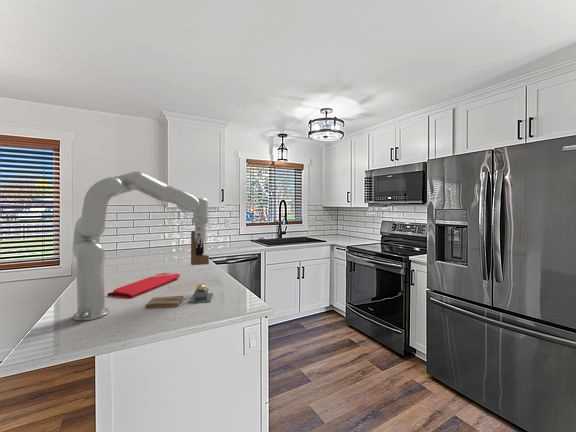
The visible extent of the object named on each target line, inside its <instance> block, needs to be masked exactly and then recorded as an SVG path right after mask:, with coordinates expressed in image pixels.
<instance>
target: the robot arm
mask: <svg viewBox="0 0 576 432" xmlns="http://www.w3.org/2000/svg"><path fill="white" fill-rule="evenodd" d="M132 191H138V192H140V193H142V194H144V195H146V196H149V197H150V198H152V199H155V200H158V201H160V202H165V203H171V204H174V205H176V207H177V209H178V210H179V211H181V212H192V224H193V225H194V231H195V242H196V239H197V242H196V255H202V254H203V255H205V254H204V253H205V252H204V251H205V245H204V244H205V242H206V241H207V224H208V213H209V211H208V203H209V202H208V199H207V198H206V197H195V196H194V195H192V194H190V193H188V192H186V191H183V190H181V189H179V188H176V187H173V186H171V185H169V184H166V183H164V182H162V181H161V180H157V179H156V178H154V177H152V176H151V175H148V174H147V173H144V172H141V171H132V172H127V173H124V174H121V175H116V176H108V177H106V178H102V179H100V180H98V181H96V182H95V183H93V184H92V185H91V187H89V189H88V190H87V191H86V193H85V196H84V198H83V203H82V210H81V217H79V218H78V219H77V220H76V222H75V225H74V234H73V241H72V254H73V256H74V257H75V258H76V301H77V303H76V304H77V310H76V311H77V312H75V313H74V314H73V315H72V319H73V320H74V321H80V322H81V321H82V322H83V321H92V320H96V319H99V318H103V317H105V316H107V315H108V314H109V312H110V310H109V308H107V307H106V306H105V275H104V274H105V257H106V255H105V248H104V247H103V245H102V244H100V236H102V235H103V234H104V232H105V230H106V217H107V209H108V205H109V202H110V200H111V199H112V198H113V197H117V196H119V195H122V194H125V193H128V192H132Z"/></svg>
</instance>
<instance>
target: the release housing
mask: <svg viewBox="0 0 576 432" xmlns="http://www.w3.org/2000/svg"><path fill="white" fill-rule="evenodd" d="M194 290H195V291H194V293H193V294H192V295H191V296H190V299H189V301H188V303H189V304H195V303H199V304H200V303H211V302H212V299H213V298H212V297H214V293H213V292H209V288H207V287H206V290H203V291H198V290H197V288H196V289H194Z"/></svg>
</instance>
